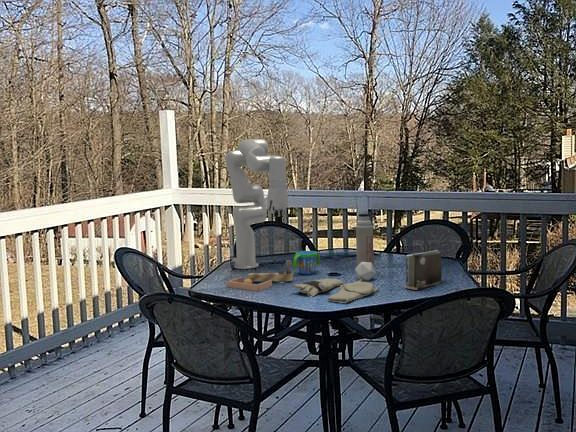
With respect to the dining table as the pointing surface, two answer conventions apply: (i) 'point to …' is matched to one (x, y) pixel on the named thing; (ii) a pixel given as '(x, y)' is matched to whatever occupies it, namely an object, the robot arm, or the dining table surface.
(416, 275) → the radio
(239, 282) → the open frame
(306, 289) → the pair of gloves
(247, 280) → the ball
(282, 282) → the pivot base
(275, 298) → the dining table surface
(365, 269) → the die
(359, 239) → the thermos bottle
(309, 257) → the snack cup
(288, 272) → the lever
